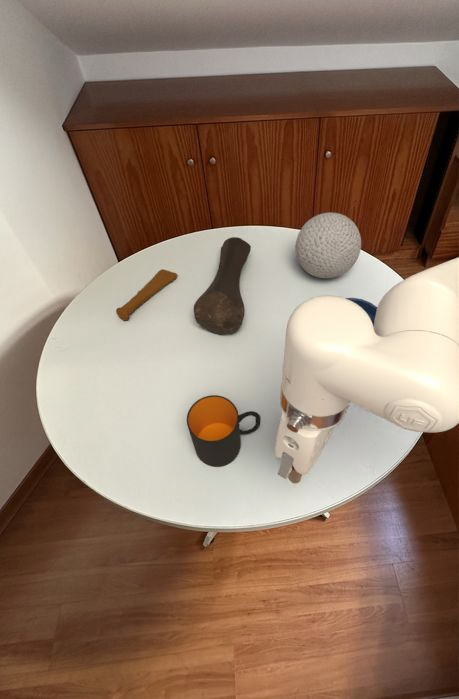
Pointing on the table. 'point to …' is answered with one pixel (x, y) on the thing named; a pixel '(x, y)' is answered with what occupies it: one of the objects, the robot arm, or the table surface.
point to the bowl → (366, 307)
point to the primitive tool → (146, 293)
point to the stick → (294, 476)
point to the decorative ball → (328, 245)
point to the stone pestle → (224, 291)
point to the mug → (217, 429)
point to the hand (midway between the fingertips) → (299, 457)
